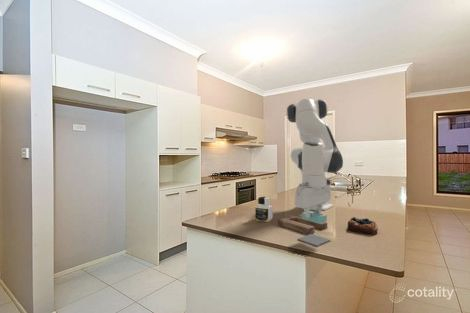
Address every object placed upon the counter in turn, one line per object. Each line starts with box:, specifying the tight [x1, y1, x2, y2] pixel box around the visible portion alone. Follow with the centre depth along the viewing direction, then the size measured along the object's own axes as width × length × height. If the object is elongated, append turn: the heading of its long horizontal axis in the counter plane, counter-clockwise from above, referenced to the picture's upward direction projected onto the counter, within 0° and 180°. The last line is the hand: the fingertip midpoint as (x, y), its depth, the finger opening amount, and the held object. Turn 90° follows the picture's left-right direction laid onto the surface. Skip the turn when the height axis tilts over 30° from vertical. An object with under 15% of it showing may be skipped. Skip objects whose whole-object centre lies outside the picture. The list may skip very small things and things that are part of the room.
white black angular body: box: [254, 196, 273, 223], centre depth 127 cm, size 7×7×12 cm
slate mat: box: [297, 233, 331, 247], centre depth 96 cm, size 9×9×1 cm
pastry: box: [347, 216, 379, 236], centre depth 108 cm, size 11×12×6 cm
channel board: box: [277, 214, 328, 235], centre depth 115 cm, size 14×18×2 cm
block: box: [301, 210, 328, 223], centre depth 96 cm, size 5×8×2 cm, turn 31°
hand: (313, 215), depth 96 cm, fingers closed on block, 5 cm apart
